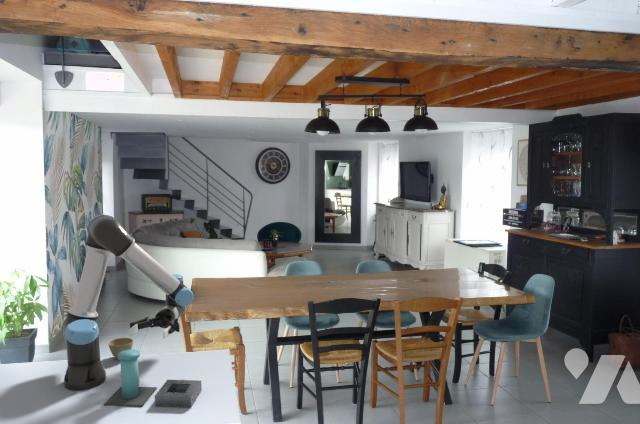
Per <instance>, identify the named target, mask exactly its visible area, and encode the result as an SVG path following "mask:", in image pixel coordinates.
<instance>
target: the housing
mask: <svg viewBox="0 0 640 424" xmlns="http://www.w3.org/2000/svg"><path fill="white" fill-rule="evenodd" d="M202 388H203V387H202V380H198V379H197V380H193V379H191V380H187V379H166V380H165V382H164V383H163V385H162V386H161V387H160V389H159V390H158V391H157V392H156V394H155V395H154V406H155V407H158V408H159V407H161V408H187V409H188V408H192V407H193V406H194V404H195V403H196V401H197V399H198V397H199V396H200V394H201V392H202Z"/></svg>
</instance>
